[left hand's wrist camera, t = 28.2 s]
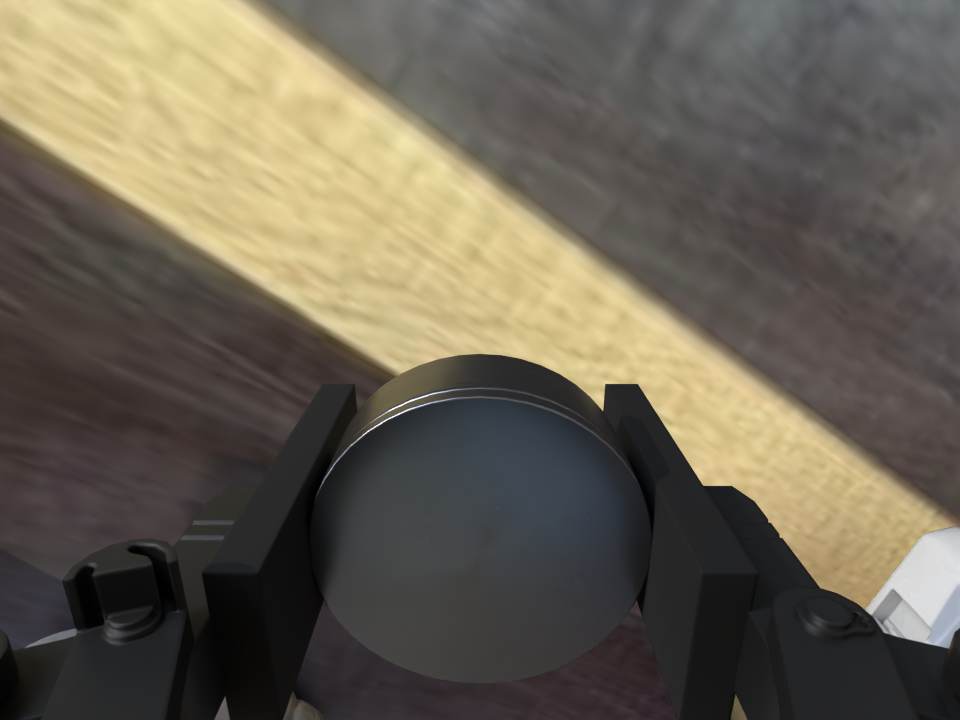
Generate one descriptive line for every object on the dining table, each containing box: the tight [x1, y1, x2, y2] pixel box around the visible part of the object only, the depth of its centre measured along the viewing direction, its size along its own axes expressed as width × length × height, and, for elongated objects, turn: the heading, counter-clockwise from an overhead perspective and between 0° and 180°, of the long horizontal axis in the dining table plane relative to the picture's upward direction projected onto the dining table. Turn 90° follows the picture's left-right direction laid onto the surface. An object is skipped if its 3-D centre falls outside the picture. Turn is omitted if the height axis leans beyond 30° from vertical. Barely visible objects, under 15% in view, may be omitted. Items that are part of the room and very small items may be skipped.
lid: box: [308, 354, 652, 684], centre depth 11 cm, size 6×6×2 cm
